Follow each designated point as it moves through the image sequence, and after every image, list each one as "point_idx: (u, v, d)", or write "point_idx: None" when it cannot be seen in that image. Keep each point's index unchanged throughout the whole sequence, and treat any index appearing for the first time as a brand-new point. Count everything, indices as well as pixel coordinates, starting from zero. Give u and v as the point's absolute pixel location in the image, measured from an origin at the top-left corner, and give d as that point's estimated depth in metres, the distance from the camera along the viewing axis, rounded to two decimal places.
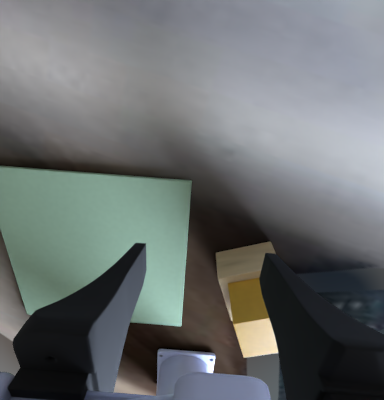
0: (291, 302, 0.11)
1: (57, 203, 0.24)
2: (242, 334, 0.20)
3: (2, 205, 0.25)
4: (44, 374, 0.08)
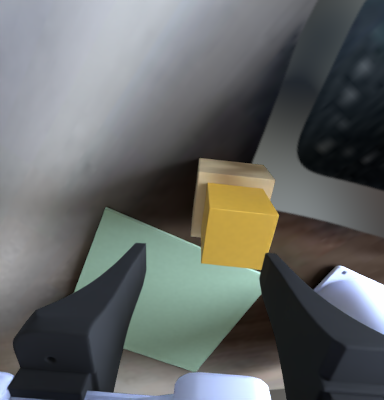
0: (291, 302, 0.11)
1: None
2: (222, 260, 0.17)
3: None
4: (44, 374, 0.08)
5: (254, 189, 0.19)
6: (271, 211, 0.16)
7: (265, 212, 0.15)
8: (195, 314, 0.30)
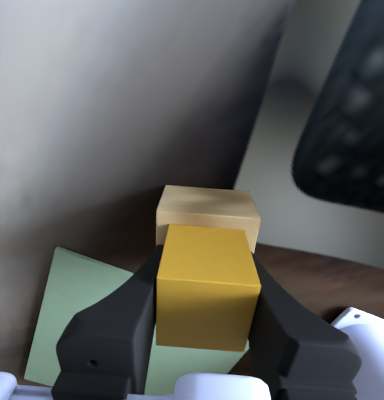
0: (259, 299, 0.11)
1: None
2: (185, 341, 0.12)
3: None
4: (85, 377, 0.08)
5: (232, 232, 0.14)
6: (249, 278, 0.11)
7: (241, 280, 0.10)
8: (178, 363, 0.25)
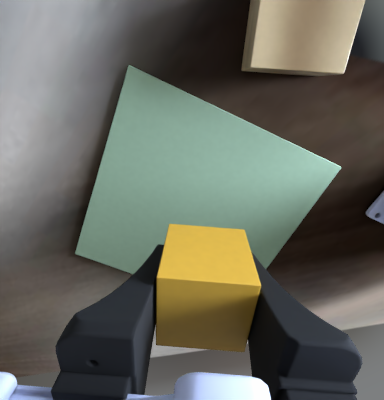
0: (259, 299, 0.11)
1: (121, 216, 0.25)
2: (185, 341, 0.12)
3: (112, 259, 0.27)
4: (85, 377, 0.08)
5: (232, 232, 0.14)
6: (249, 277, 0.10)
7: (241, 280, 0.10)
8: (239, 226, 0.25)
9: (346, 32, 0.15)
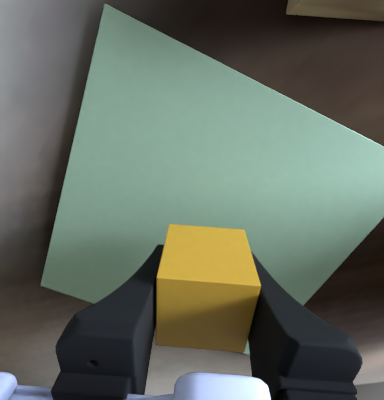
0: (259, 299, 0.11)
1: (101, 237, 0.18)
2: (185, 341, 0.12)
3: (92, 293, 0.20)
4: (85, 377, 0.08)
5: (232, 232, 0.14)
6: (249, 277, 0.10)
7: (241, 280, 0.10)
8: (268, 251, 0.17)
9: None
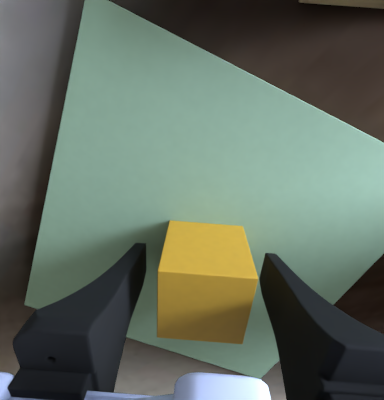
0: (291, 302, 0.11)
1: (90, 254, 0.16)
2: (185, 333, 0.12)
3: None
4: (44, 374, 0.08)
5: (230, 228, 0.14)
6: (247, 271, 0.11)
7: (239, 273, 0.11)
8: None
9: None
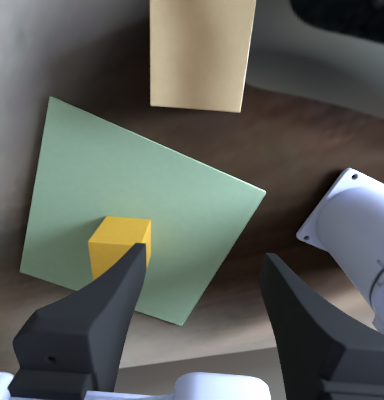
0: (291, 302, 0.11)
1: (60, 237, 0.25)
2: None
3: (57, 277, 0.28)
4: (44, 374, 0.08)
5: (142, 220, 0.24)
6: (137, 242, 0.20)
7: (131, 243, 0.20)
8: (175, 246, 0.25)
9: (235, 75, 0.15)
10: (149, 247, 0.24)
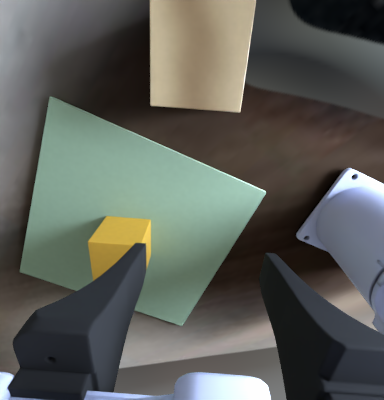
0: (291, 302, 0.11)
1: (60, 237, 0.25)
2: None
3: (57, 277, 0.28)
4: (44, 374, 0.08)
5: (142, 220, 0.24)
6: (137, 242, 0.20)
7: (131, 243, 0.20)
8: (175, 246, 0.25)
9: (235, 75, 0.15)
10: (149, 247, 0.24)
